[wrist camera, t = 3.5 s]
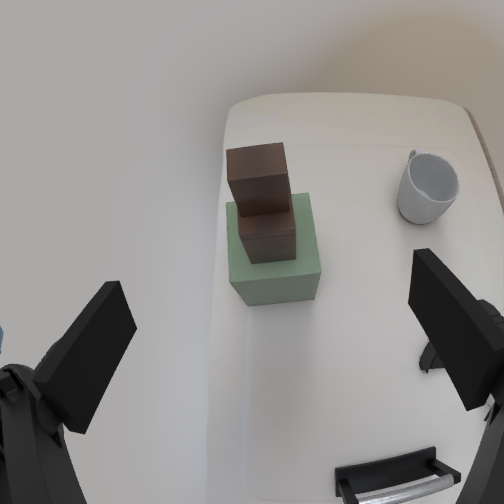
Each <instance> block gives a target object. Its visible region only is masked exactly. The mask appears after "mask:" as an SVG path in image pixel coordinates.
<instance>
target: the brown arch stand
mask: <svg viewBox="0 0 504 504" xmlns="http://www.w3.org/2000/svg"><path fill="white" fill-rule="evenodd" d="M226 157H227V181H228V184H229V187H230V189H231V192H232V195H233V197H234V200H235V203H236V206H237V218H238V235H239V237H240V240H241V242H242V244H243V247H244V249H245V251H246V254H247V256H248V258H249V260H250V263H251V264H259V263H268V262H277V261H286V260H295V259H296V225H295V218H294V211H293V204H292V197H291V190H290V183H289V177H288V170H287V165H286V158H285V152H284V146H283V142H281V143H272V144H264V145H256V146H249V147H242V148H235V149H228V150H226Z"/></svg>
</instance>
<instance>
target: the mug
mask: <svg viewBox="0 0 504 504" xmlns="http://www.w3.org/2000/svg"><path fill="white" fill-rule="evenodd" d="M458 192H459V179H458V175H457V173H456V171H455V169H454V168H453V167H452V165H451V164H450V163H449V162H448V161H447V160H445V159H443V158H442V157H440V156H438V155H435V154H431V153H425V151H424V150H422V149H420V148H416V149H413V150H412V151H411V153H410V155H409V160H408V165H407V167H406V169H405V172H404V174H403V177H402V179H401V182H400V187H399V191H398V206H399V209H400V212H401V214H402V215H403V216H404V217H405V218H406V219H407V220H408V221H410V222H412V223H416V224H426V223H429V222H432V221H433V220H435V219H437V218H438V217H439V216H441V215H442V214H443V213H444V212H445V211H446V210H447V209H448V208H449V207H450V205H451V204H452V203H453V202H454V200H455V198H456V197H457V195H458Z"/></svg>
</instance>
